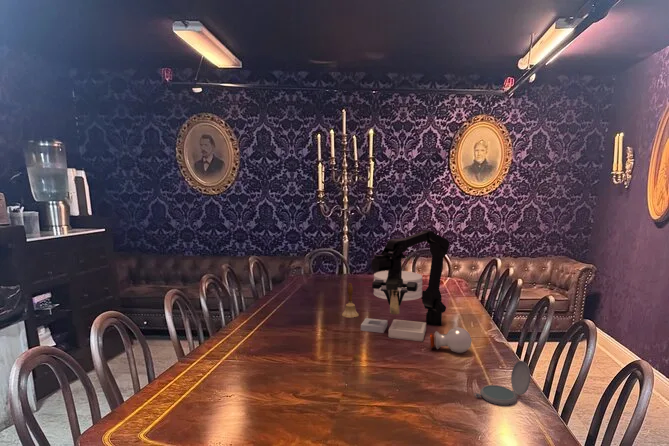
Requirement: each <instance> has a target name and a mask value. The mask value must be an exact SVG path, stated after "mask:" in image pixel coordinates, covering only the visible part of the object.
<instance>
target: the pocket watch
mask: <svg viewBox="0 0 669 446" xmlns="http://www.w3.org/2000/svg"><path fill="white" fill-rule="evenodd" d="M510 376H511V377H510V381H511V383H510V384H511V388H512V389H510V388H509V387H505V386H502V385H497V384H495V385H494V384H490V385H489V384H488V385H484V386H483V387H481V389H480V393H478V392H477V393H476V392H475V393H473V396H474V397H476V398H481V397H482V398H483V399H484V400H485V401H487V402H488V401H489V403H491V404H493V403H494V405H497V404H498V405H497V406H509V404H510V405H514V404H515V403H516V402H517V400H518V397H519V396H521V395H524V394H525V393H527V391H528V389H529V386H530V384H531V370H530V368H529V365H528V364H527V362H525V361H524V360H518V361H517V362H516V363H515V364H514V365H513V368H512V371H511V375H510ZM518 395H519V396H518Z"/></svg>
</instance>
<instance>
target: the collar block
mask: <svg viewBox="0 0 669 446" xmlns="http://www.w3.org/2000/svg"><path fill="white" fill-rule="evenodd" d="M387 327H388V319H377V318H368V317H365V319H364V320H363V321H362V323H361V324H360V331H361V332H362V331H363V332H370V333H380V334H381V333H382V334H384V333H385V331H386V330H387Z"/></svg>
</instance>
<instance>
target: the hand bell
mask: <svg viewBox="0 0 669 446" xmlns="http://www.w3.org/2000/svg"><path fill="white" fill-rule="evenodd" d="M353 292H354V288H353V284H352V283H351V282H348V285H347V295H348V303H346V304H345V308H344V311H343V312H342V313H341V316H342V317H343V318H349V319H354V317H355V318H358V317H359V312H357V309H356V305H355V303H353Z"/></svg>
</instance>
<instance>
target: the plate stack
mask: <svg viewBox="0 0 669 446" xmlns="http://www.w3.org/2000/svg"><path fill="white" fill-rule="evenodd" d="M387 277H388V270H386V271H378V272H374V273H373V282H374V281H375V280H383V281H384V282H386V280H387ZM402 279H403V284H407V283H408V282H417V284H418V289H417V290H416V291H408V292H407V293H405V294H404V296H403V299H402V301H404V302H405V301H414V300H418V299H421V298H422V292H423V275H422V274H420V273H417V272H413V271H408V270H406V271H405V270H402ZM398 290H399V299H400V291H401V288H398ZM373 295H374V296H375V297H377V298H379V299H383V300H387V297H386V295H385V293H384V292H383V291H381V288H379V289H373Z"/></svg>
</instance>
